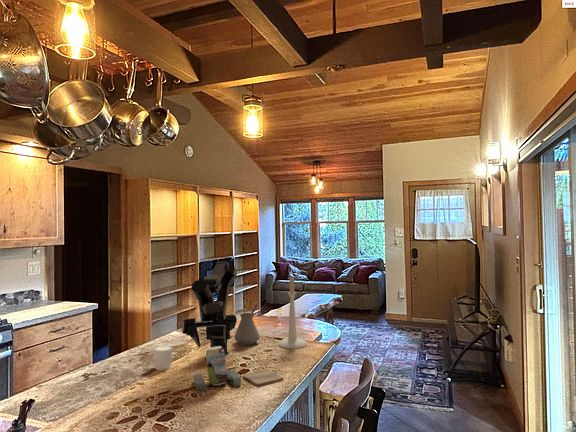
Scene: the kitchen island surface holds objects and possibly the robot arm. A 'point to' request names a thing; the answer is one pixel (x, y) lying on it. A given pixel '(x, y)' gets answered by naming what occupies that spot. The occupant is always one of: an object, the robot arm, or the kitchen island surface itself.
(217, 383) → the beverage can
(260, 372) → the walnut board
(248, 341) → the coffee pot
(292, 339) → the candlestick
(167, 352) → the shot glass
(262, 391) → the kitchen island surface
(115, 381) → the kitchen island surface
